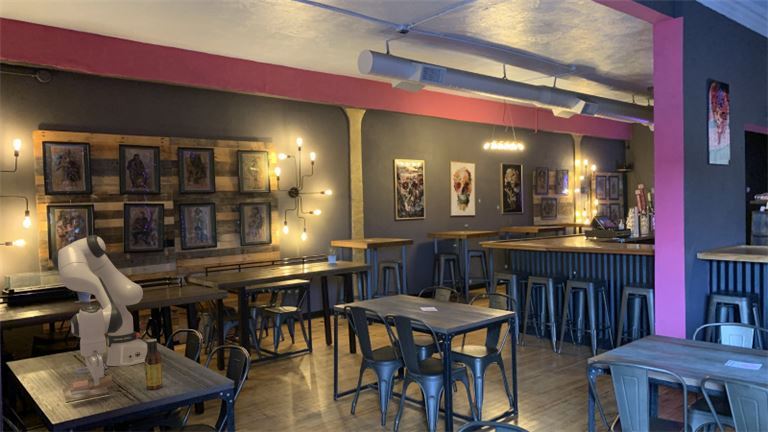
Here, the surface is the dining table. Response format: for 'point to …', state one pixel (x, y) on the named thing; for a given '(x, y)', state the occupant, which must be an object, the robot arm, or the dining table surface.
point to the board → (92, 392)
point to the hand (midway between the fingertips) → (95, 383)
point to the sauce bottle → (153, 366)
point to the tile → (80, 384)
